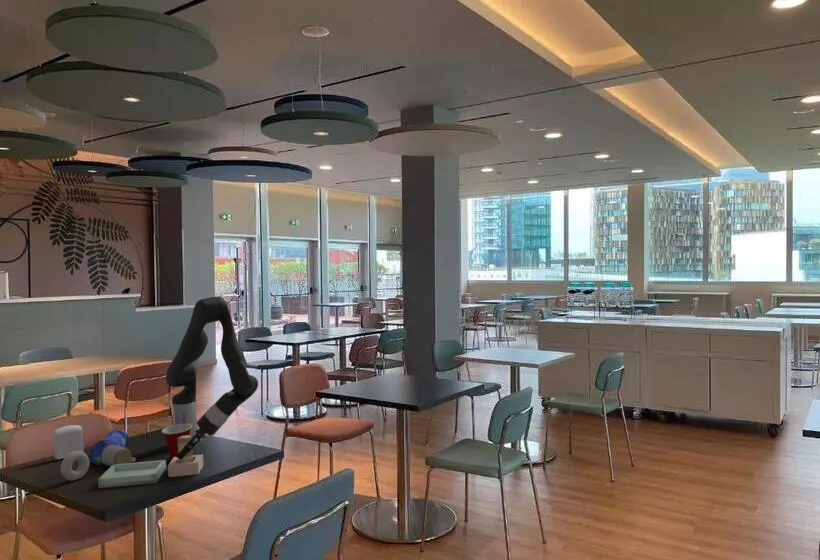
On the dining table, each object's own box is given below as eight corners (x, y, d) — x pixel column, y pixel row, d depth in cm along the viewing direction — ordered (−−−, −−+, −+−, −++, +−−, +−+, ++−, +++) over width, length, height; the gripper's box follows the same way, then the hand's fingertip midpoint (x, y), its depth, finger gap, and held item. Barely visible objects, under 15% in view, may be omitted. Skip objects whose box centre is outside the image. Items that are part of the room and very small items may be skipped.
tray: (113, 472, 218) (112, 464, 218) (166, 468, 221) (166, 459, 221) (98, 488, 202) (98, 479, 202) (155, 482, 205) (155, 473, 205)
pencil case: (112, 465, 227) (111, 440, 227) (87, 467, 226) (86, 442, 226) (130, 449, 249) (129, 425, 249) (108, 450, 248) (106, 427, 248)
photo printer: (56, 461, 235) (55, 429, 235) (53, 459, 238) (51, 428, 238) (85, 455, 242) (83, 424, 242) (81, 453, 245) (80, 422, 245)
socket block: (174, 468, 220) (174, 457, 220) (203, 465, 222) (202, 454, 222) (168, 477, 210) (167, 465, 210) (198, 474, 212) (198, 462, 212)
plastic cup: (156, 461, 230) (155, 429, 229) (179, 453, 239) (178, 422, 239) (177, 464, 225) (175, 432, 224) (199, 456, 234) (198, 424, 234)
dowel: (180, 469, 218) (179, 436, 218) (194, 468, 219) (193, 435, 219) (177, 473, 213) (176, 439, 213) (192, 472, 214) (190, 438, 214)
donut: (85, 474, 217) (84, 446, 217) (92, 475, 216) (90, 447, 215) (59, 484, 208) (57, 454, 208) (65, 485, 207) (64, 455, 206)
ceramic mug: (115, 470, 220) (114, 449, 220) (101, 468, 224) (100, 447, 224) (141, 462, 229) (140, 442, 229) (126, 460, 233) (126, 440, 233)
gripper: (208, 408, 224) (175, 443, 222) (202, 416, 210) (167, 455, 208) (224, 421, 225) (191, 456, 223) (219, 430, 211) (184, 468, 209)
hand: (180, 455), depth 216 cm, fingers closed on dowel, 4 cm apart
